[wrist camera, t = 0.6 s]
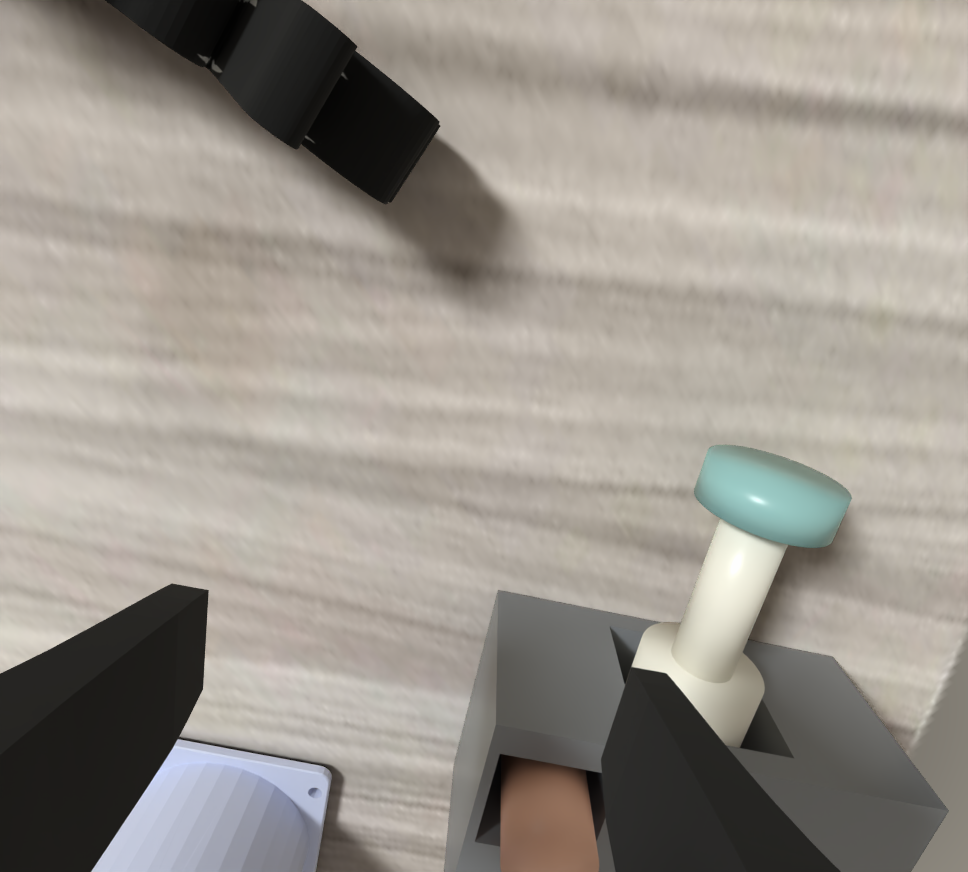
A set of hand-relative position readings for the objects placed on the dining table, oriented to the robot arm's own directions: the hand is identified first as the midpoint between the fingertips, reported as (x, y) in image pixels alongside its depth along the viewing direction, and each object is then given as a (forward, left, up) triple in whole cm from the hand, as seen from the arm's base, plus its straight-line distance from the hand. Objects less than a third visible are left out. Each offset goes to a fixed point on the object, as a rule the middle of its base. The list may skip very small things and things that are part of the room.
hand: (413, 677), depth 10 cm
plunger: (-7, -4, -6) cm, 10 cm away
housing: (-8, -8, -10) cm, 15 cm away
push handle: (-4, -8, -9) cm, 13 cm away
